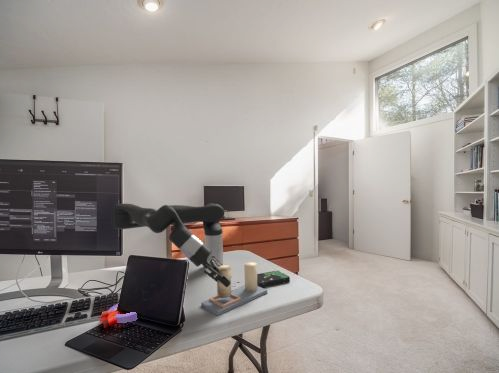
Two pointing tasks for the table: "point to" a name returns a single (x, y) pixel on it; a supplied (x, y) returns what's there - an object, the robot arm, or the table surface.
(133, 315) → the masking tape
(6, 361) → the table surface
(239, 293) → the base plate
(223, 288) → the maple column
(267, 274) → the disk drive
